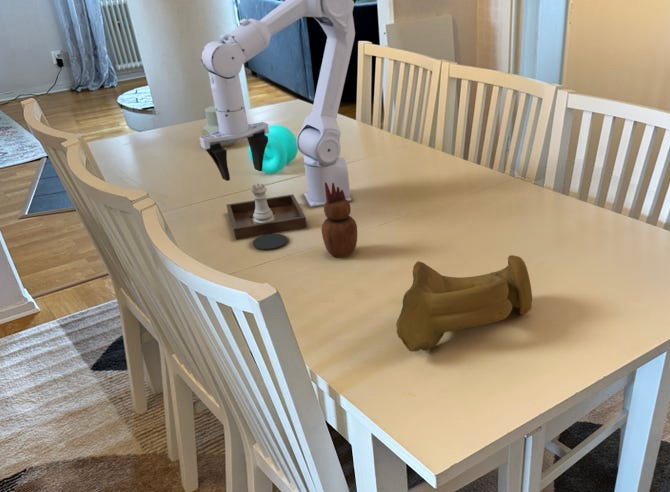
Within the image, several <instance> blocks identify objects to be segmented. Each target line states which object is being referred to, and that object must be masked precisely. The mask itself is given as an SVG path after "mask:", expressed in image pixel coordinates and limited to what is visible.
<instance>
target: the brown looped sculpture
mask: <svg viewBox="0 0 670 492" xmlns="http://www.w3.org/2000/svg"><path fill="white" fill-rule="evenodd" d="M412 268H413V269H412V278H413V279H412V284H411V286H410V288H409V289H407V291H405V293H404V295H403V297H402V307H401V310H400V313H399V316H398V319H397V320H396V335H397V337H398V338H399V339H400V340H401V341H402V343H403V345H404V346H405V347H406V349H407V350H408V351H409V352H411V353H412V352H420V351H430V350H433V349H434V348H435V347H436V346H437V345H438V344H439V343H440V341H441V339H442V337H443V336H444V334H445V333H449V332H456V331H460V330H463V329H467V328H468V329H469V328H474V327H479V326H484V325H488V324H489V325H490V324H493V323H496V322H500V321H502V320H505V319H506V318H508V316H510V313H511V312H512V310H513V308H517V311H518V313H519V314H520V315H524V314H527V313H528V312H529V311H530V310H531V309H532V307H533V292H532V291H533V290H532V285H531V279H530V275H529V272H528V271H529V270H528V267H527V265H526V262H525V261H524V260H523V258H522V257H520V256H517V255H515V254H514V255H513V254H512V255H511V254H510V255H509V256H508V257H507V265H506V266H505V267H503V268H502V269H500V270H496V271H491V272H489V273H486V274H481V275H475V276H463V277H456V276H448V275H447V276H446V275H442V274H440V272H438V271H436V269H434V268H432V267H431V266H429V265H427V264H426V263H425V262H423V261H419V260H418V261H416V262H415V264H414V265H413V267H412Z"/></svg>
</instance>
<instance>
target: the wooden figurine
mask: <svg viewBox="0 0 670 492" xmlns="http://www.w3.org/2000/svg"><path fill="white" fill-rule="evenodd" d="M325 191H326V203H325V205H323V212H324V215H325V219H324V221H323V222H322V224H321V230H320V231H321V236H322V241H323V243H324V246H325V248H326V251H327V253H328V254H329V255H330V256H332V257H335V258H344V257H349V256H350V255H352V254H353V253H354V252H355V250H356V248H357V243H358V225H357V221H356V220H355V219H354V218H353V217H352V216H350V215H351V212H352V211H351V209H352V208H351V204H350V201H347V200H346V199H345V195H344V192H343V190H341V191H340V190H339V187H337V191H336V190H335V186H334V183H332V191H331V193H330V190H329V188H328V185H327V183H326V182H325Z"/></svg>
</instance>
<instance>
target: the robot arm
mask: <svg viewBox="0 0 670 492" xmlns="http://www.w3.org/2000/svg"><path fill="white" fill-rule="evenodd" d="M354 7H355V2H354V0H284V1H282V2H281V3H280V4H279V5H277V7H275V8H274V9H273V10H271V11H269V13H267V14H266V15H265V16H264V17H262V18H261V19H260V20H258V19H255V18H249V19H246V18H242V19H241V20H239V22H238V24H239V26H237V27H236V28H234V29H233V30H231V31H230V32H228V33H227V34H225V33H223V34H221V35H219V39H220V40H219V41H217V40H216V41H213V40H212V41H210V42H208V43H206V44H205V45H204V47H203V50H202V53H201V58H200V62H201V65H202V67H203V68H204V69H205V70H206V71H207V73H208V78H209V82H210V83H209V84H210V88H211V94H212V99H213V106H215V109H216V114H217V119H218V124H219V129H220V130H219V131H217V132H214V133H212V134H209V135H207V136H204V137H202V136H200V137H199V143H200V147H201V148H202V149H204V150H205V151H206V152H207V153H208V155H209V157H211V159H212V160H213V162H214V164H215V165H216V167H217V169H218V171H219V174H220V177H221V179H222V180H224V181H226V182H228V181H231V175H230V172H229V167H228V158H227V157H228V156H227V155H228V151H227V149H225V148H224V147H222V146H221V144H224V143H228V142H232V141H236V140H237V141H239V140H240V141H241V140H243V139H247V142H248V147H249V146H250V149H251V153H252V159H253V163H252V164H253V168H254V170H256V171H258V172H262V165H263V156H264V152H265V148H266V145H267V143H268V136H266V135H265V134H267V133H269V123H267V122H265V121H260V122H256V123H249V124H248V117H247V112H246V106H245V101H244V95H243V88H242V83H241V78H240V72H241V70H242V68H243V65H244V64H245V63H247V62H248V61H250V60H251V59H253V58H254V57H256V56H257V55H258V54H260V53H262V52H263V51H265V49H267V48H268V47H269V46H270V42H271V41H270V40H271V37H272V36H274V35H276V34H277V33H279V32H280V31H282V30H284V29H285V28H287V27H288V26H290V25H292V24H293V23H295V22H297V21H298V20H300V19H301V18H303V17H307V18H313V19H314V20H315V21H317V22H318V24H319V26H320V27H321V28H322V30H323V32H324V33H325V35H326V42H325V46H324V51H323V57H322V62H321V66H320V69H319V75H318V80H317V84H316V91H315V95H314V100H313V105H312V109H311V113H310V114H309V115H308V116H307V117H306V118H304V120H303V123H302V127H301V128H300V130H299V131H298V133H297V134H296V135H297V136H296V144H297V147H298V151H299V152H300V153H301V154H302V157H303V165H304V173H305V182H306V190H307V192H304V194H303V195H304V197H305V199H306V201H307V203H308V205H309V206H310V207H311V208H314V207H319V206H324V205H325V203H326V191H325V182H326V183H327V185H328V188H329V190H330V193H331V191H332V183H334V186H335V190H336V191H337V187H339V190H340V191H341V190H343V192H344V195H345V199H346V200H347V201H348V202H351V201H352V198H351V189H350V180H349V179H350V177H349V170H348V165H347V162H346V159H345V157H340V155H341V150H342V149H341V140H340V139H341V138H340V137H341V129H340V126H339V124H338V122H337V118H338V114H339V110H340V109H339V108H340V104H341V101H342V100H341V99H342V96H343V92H344V86H345V82H346V77H347V73H348V69H349V64H350V60H351V56H352V52H353V51H352V50H353V46H354V42H355V36H356V30H355V21H354V16H353V11H354ZM237 141H236V142H237Z"/></svg>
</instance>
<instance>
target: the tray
mask: <svg viewBox="0 0 670 492" xmlns="http://www.w3.org/2000/svg"><path fill="white" fill-rule="evenodd" d="M266 200H267V204H268V207H269V208H270V210H271V211H272V212H273V215H275V217H276V220H273V221H271V222H265V223H259V224H257V223H254V224H253V223H252V220H251V219H252V218H253V219H254V217H253V214H254V212H255V199H253V200H247V201H246V200H245V201H240V202H233V203H227V204H226V209H227V214H228V218H229V221H230V225H231V228H232V231H233V235H234V238H235V241H237V240H243V239H248V238H249V239H250V238H254V237H259V236H262V235H266V234H280V233H284V232H285V233H286V232H290V231H296V230H302V229H303V230H304V229H307V228H308V225H307V219H306V216H305V214H304V211H303V210H302V208H301V206H300V204H299V202H298V200H297V198H296V196H295V195H294V194H286V195H280V196H273V197H266Z"/></svg>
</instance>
